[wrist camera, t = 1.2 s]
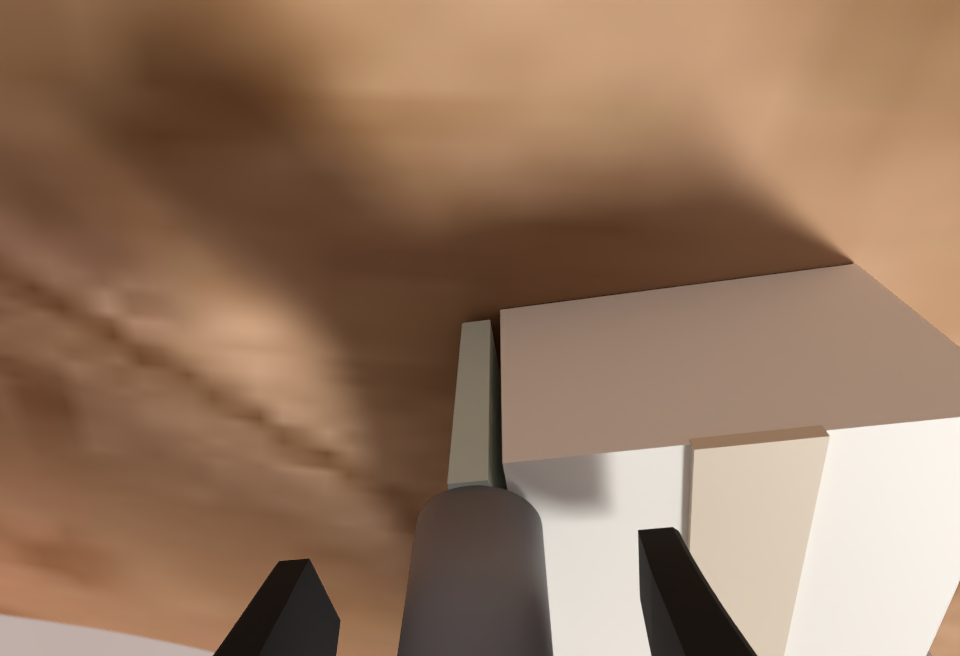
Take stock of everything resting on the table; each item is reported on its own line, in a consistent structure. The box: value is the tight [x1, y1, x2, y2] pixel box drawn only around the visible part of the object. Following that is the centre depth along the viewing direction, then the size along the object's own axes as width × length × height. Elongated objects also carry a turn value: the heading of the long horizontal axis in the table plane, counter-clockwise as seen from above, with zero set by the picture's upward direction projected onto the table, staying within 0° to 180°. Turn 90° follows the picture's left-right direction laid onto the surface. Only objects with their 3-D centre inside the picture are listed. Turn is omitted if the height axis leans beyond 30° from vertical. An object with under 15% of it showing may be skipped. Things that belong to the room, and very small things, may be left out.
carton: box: [500, 264, 960, 656], centre depth 17 cm, size 14×10×6 cm
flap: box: [397, 320, 553, 656], centre depth 16 cm, size 14×3×10 cm, turn 9°
